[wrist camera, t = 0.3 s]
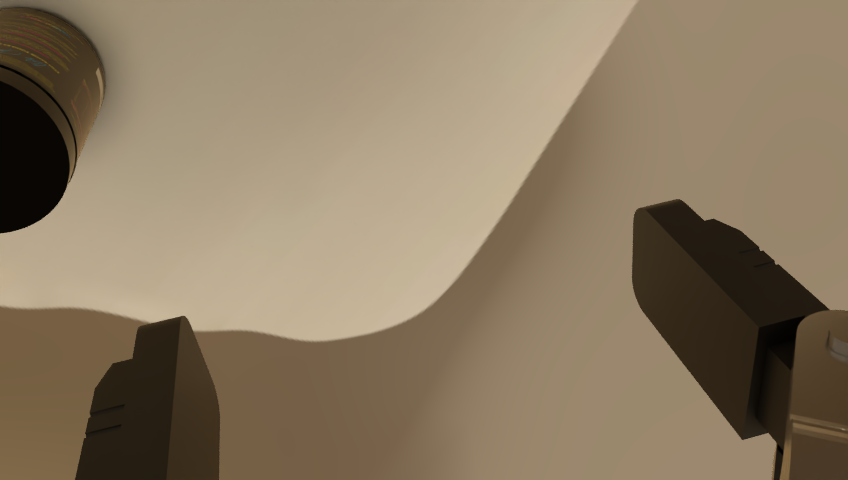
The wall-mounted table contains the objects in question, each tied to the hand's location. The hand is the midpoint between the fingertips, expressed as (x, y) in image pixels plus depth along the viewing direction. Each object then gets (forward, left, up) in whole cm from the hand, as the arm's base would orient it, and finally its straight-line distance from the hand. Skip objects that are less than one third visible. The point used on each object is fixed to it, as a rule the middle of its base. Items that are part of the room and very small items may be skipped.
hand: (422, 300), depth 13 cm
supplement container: (+2, -14, -29) cm, 32 cm away
